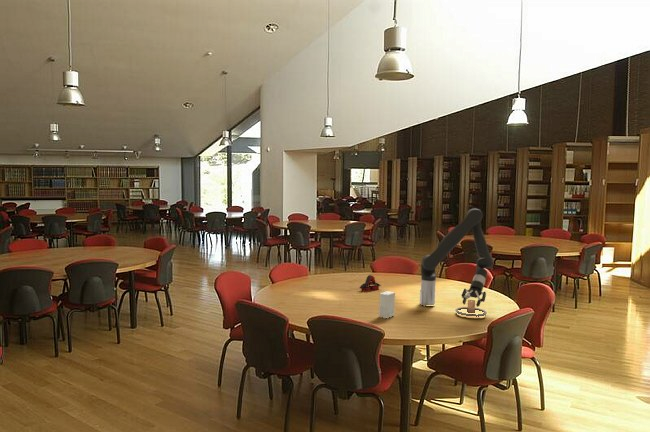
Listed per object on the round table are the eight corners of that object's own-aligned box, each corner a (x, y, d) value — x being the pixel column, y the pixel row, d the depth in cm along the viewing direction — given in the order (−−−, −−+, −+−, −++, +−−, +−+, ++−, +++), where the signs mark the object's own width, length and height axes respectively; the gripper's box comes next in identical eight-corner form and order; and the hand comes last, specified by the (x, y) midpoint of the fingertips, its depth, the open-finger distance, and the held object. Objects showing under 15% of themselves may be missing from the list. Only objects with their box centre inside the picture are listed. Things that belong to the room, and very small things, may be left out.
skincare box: (386, 314, 314) (387, 290, 313) (394, 316, 310) (395, 292, 308) (378, 317, 308) (379, 292, 306) (386, 319, 304) (387, 294, 302)
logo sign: (361, 292, 372) (362, 276, 371) (359, 291, 375) (359, 276, 374) (381, 289, 382) (381, 274, 381) (378, 288, 385) (378, 273, 384)
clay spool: (468, 315, 315) (468, 301, 314) (466, 313, 319) (467, 299, 318) (475, 315, 315) (476, 301, 314) (473, 313, 319) (474, 299, 318)
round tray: (459, 318, 308) (459, 314, 308) (452, 310, 326) (453, 306, 326) (489, 319, 308) (490, 315, 308) (481, 311, 326) (481, 307, 325)
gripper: (465, 278, 325) (457, 299, 317) (487, 281, 317) (480, 303, 309) (468, 285, 330) (460, 306, 322) (490, 288, 322) (483, 310, 313)
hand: (470, 304), depth 315 cm, fingers open, 8 cm apart
